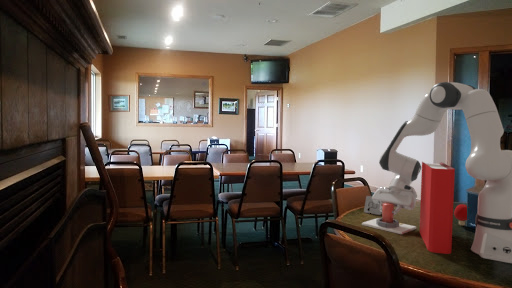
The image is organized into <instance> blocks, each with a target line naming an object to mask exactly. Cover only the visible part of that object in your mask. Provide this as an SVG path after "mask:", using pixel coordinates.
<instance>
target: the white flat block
mask: <svg viewBox="0 0 512 288" xmlns="http://www.w3.org/2000/svg"><path fill="white" fill-rule="evenodd" d="M361 226H364V227H370V228H374V229H378V230H382V231H386V232H389V233H393V234H394V233H395V234H399V235H404V234H406V233H408V232H412V231H414V230H416V229H417V226H415V225H412V224H411V225H410V224H406V223H401V222H400V221H399V220H398V219H394V218H393V223H385V222H382V217H379V218H378V217H377V218H373V219H370V220H367V221H364V222H361Z"/></svg>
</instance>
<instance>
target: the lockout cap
mask: <svg viewBox="0 0 512 288" xmlns="http://www.w3.org/2000/svg"><path fill="white" fill-rule="evenodd" d="M393 209H394V210H395V207H394V204H392V203H383V207H382V214H381V215H382V216H381V218H382V222H385V223H393V219H394V214H392V211H393Z"/></svg>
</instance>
